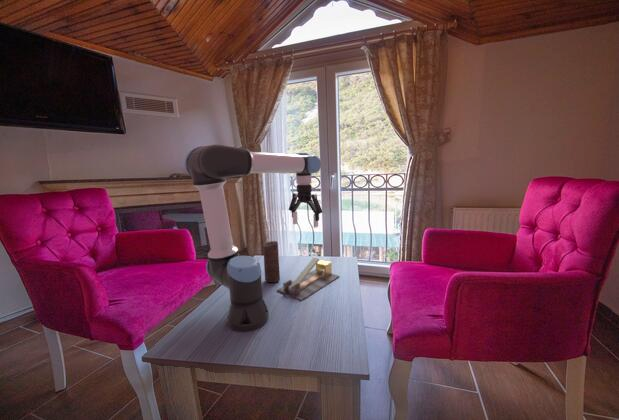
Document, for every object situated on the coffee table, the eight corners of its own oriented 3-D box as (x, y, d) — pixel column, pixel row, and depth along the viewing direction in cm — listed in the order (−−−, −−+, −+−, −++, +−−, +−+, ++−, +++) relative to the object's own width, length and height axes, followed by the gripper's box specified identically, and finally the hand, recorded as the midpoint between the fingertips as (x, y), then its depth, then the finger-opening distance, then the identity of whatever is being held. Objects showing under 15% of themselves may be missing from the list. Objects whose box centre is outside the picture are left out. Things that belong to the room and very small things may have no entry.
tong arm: (293, 293, 116) (292, 290, 115) (288, 291, 118) (286, 288, 117) (319, 260, 129) (318, 257, 128) (314, 259, 131) (312, 256, 130)
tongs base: (301, 301, 111) (300, 289, 111) (276, 291, 121) (276, 280, 120) (339, 276, 134) (339, 267, 133) (316, 270, 143) (315, 261, 142)
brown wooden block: (279, 284, 128) (276, 244, 124) (263, 284, 128) (261, 245, 124) (280, 277, 135) (278, 239, 132) (266, 277, 135) (264, 240, 132)
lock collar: (325, 277, 132) (325, 265, 131) (316, 274, 136) (315, 262, 135) (331, 273, 136) (331, 262, 135) (322, 271, 140) (321, 259, 139)
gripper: (328, 184, 128) (329, 226, 131) (290, 183, 143) (292, 221, 146) (319, 185, 122) (320, 230, 125) (280, 184, 137) (282, 224, 141)
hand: (305, 225), depth 136 cm, fingers open, 13 cm apart
